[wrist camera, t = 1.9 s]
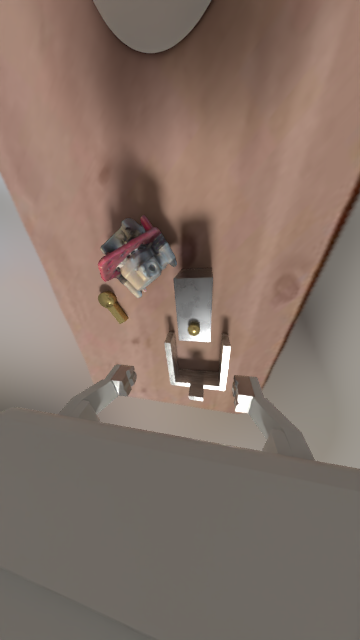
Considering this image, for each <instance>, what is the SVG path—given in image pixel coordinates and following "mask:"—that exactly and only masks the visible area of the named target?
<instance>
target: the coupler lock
mask: <svg viewBox="0 0 360 640" xmlns="http://www.w3.org/2000/svg"><path fill="white" fill-rule="evenodd" d="M212 286H213V274H212V268H194V269H182V270H181V271H180V272H179V273H178V274H177V275H176V276H175V278H174V290H175V301H176V311H177V322H178V333H179V340H181V341H201V342H210V336H211V311H212Z"/></svg>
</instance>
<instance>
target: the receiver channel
mask: <svg viewBox="0 0 360 640" xmlns="http://www.w3.org/2000/svg"><path fill="white" fill-rule="evenodd" d="M230 348H231V346H230V341H229V336H228V334H222V340H221V352H220V363H219V372H211V371H200V370H189V369H179V368H178V359H177V349H176V340H175V332H171V331H169V333H168V336H167V338H166V340H165V350H166V356H167V363H168V369H169V376H170V382H171V385H178V386H187V387H190V390H189V399H190V400H198V401H203V390H204V389H213V390H222V391H225V387H226V379H227V371H228V363H229V356H230Z"/></svg>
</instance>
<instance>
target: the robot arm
mask: <svg viewBox="0 0 360 640" xmlns="http://www.w3.org/2000/svg"><path fill="white" fill-rule="evenodd" d="M93 2H94V4H95V6H96V7H97V9H98V11H99V13H100V15H101V16H102V18H103V19H104V21H105V23H106V24H107V25H108V27H109V28H110V29H111V31H112V32H113V33H114V34H115V35H116V36H117V37H118V38H119V39H120V40H121V41H122V42H123V43H124V44H126V45H127V46H129V47H130V48H132V49H134V50H137V51H140V52H143V53H158V52H162V51H165V50H167V49H169V48H171V47H173V46H174V45H176V44H177V43H179V42H180V41H181V40H182V39H183V38H184V37H185V36H186V35H187V34H188V33H189V32H190V31H191V30H192V29H193V28H194V26H195V25H196V24H197V22H198V21H199V20H200V18H201V17H202V15H203V14H204V12H205V10H206V9H207V7H208V5H209V3H210V2H211V0H93ZM136 378H137V377H136V373H135V372H134V366H128V365H119V364H116V365H115V366H114V367H113V369H112V370H111V371H110V373H109V374H108V375H107V376H106V378H105V379H104V380H101V381H99V382H98V383H96V384H94V385H93V386H91V387H89V388H88V389H86V390H85V391H83V392H81V393H79V394H78V395H76V396H75V397H73V398H72V399H71V400H70V401H69V402H68V403H67V405H66V406H65V407H64V408H63V409H62V410H61V411H60V412H59V414H52V413H46V412H41V411H36V410H30V409H25V408H20V407H12V408H9V409H7V410H4V411H2V412H0V640H360V469H357V468H352V467H347V466H341V465H335V464H329V463H324V462H319V461H315V459H314V457H313V455H312V453H311V451H310V449H309V447H308V445H307V443H306V441H305V439H304V437H303V434H302V433H301V432H300V431H299V430H298V429H297V428H296V427H295V426H294V425H293V424H292V423H291V422H290V421H289V420H288V419H287V418H286V417H285V416H284V415H283V414H282V413H281V412H280V411H279V410H278V409H277V408H276V407H275V406H274V405H273V404H272V403H271V402H270V401H269V400H268V399H266V398H264V396H263V393H262V390H261V387H260V384H259V382H258V379H257V377H251V376H240V375H234V382H233V386H232V390H233V396H234V397H235V399H234V404H235V410H236V411H238V412H244V413H249V415H250V417H251V418H252V420H253V421H254V422H255V424H256V425H257V427H258V428H259V429H260V431H261V432H262V434H263V435H264V436H265V438H266V439H267V441H266V443H265V446H264V448H263V451H258V450H252V449H247V448H241V447H235V446H230V445H224V444H219V443H213V442H208V441H202V440H197V439H191V438H186V437H180V436H175V435H169V434H164V433H158V432H152V431H147V430H141V429H135V428H130V427H124V426H118V425H114V424H108V423H102V422H100V419H99V417H98V416H97V414H98V413H99V412H100V411H102V410H103V409H104V408H105V407H106V406H107V405H109V404H110V403H111V402H112V401H113V400H114V399H115V398H117V397H118V395H119V396H128V395H129V393H130V391H131V389H132V388H131V386H132V385H134V384H135V382H136Z"/></svg>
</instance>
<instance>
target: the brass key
mask: <svg viewBox="0 0 360 640" xmlns="http://www.w3.org/2000/svg"><path fill="white" fill-rule="evenodd" d="M98 300H99V303H100V304H101V305H102V306H103V307H105V308H108V309H109V311H110V312H111V313H112V314H113V316H114V317H115V318H116V320H117V321H118V322H119V323H120V324H121V323H123V322H125V321H126V320H127V319H128V317H127V315H126V314H125V313H124V311H123V310H122V309H121V308H120V306H119V305H118V304H117V298H116V296H115V295H114V294H113V293H112V292H110V291H105V292H103V293H101V294H100V295H99V296H98Z"/></svg>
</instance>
